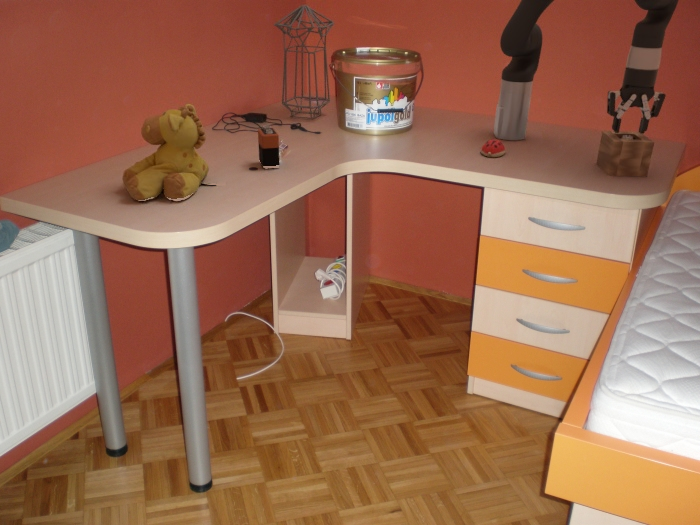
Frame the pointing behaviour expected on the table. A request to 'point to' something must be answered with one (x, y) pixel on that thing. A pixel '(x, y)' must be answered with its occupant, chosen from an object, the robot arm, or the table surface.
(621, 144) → the socket block
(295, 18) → the geometric lantern
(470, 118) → the table surface
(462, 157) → the table surface
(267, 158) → the battery
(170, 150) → the giraffe plush
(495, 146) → the ladybug figurine
